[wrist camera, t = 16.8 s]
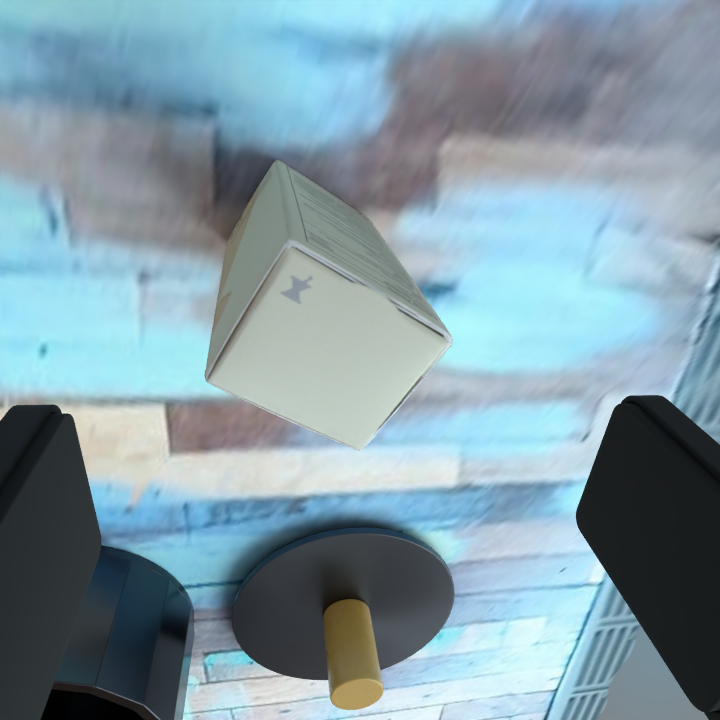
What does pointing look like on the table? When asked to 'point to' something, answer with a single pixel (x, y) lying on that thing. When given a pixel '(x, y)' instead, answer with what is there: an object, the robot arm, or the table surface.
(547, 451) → the table surface
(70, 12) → the table surface
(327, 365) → the box
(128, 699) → the pot
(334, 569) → the lid
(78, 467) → the robot arm
